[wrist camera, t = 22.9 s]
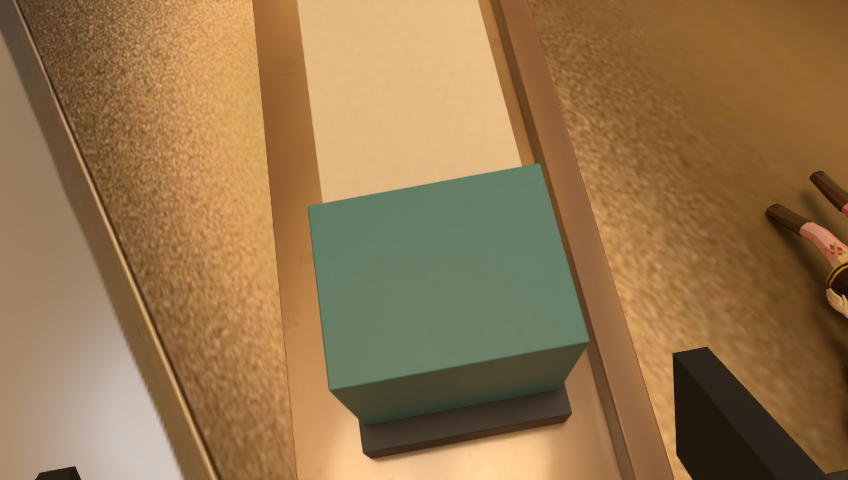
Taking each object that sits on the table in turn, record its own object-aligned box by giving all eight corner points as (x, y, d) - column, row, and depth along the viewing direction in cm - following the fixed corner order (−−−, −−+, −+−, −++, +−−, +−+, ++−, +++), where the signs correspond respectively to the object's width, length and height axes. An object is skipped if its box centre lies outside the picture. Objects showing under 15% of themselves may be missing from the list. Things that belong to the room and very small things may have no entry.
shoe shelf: (324, 549, 30) (289, 553, 24) (268, 20, 42) (238, -58, 36) (637, 489, 30) (675, 480, 24) (493, -21, 42) (496, -105, 36)
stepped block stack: (566, 422, 27) (607, 375, 19) (370, 459, 27) (325, 427, 19) (453, -24, 37) (447, -185, 28) (308, 3, 37) (260, -151, 28)
